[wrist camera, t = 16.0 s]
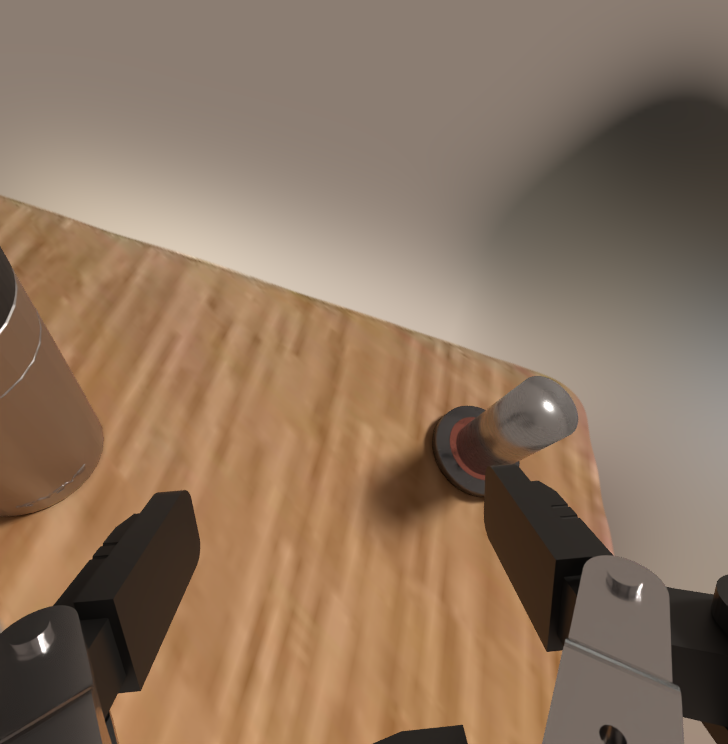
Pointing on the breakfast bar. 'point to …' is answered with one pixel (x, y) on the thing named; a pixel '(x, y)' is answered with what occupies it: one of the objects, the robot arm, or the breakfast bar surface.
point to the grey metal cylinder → (518, 425)
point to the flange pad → (449, 455)
